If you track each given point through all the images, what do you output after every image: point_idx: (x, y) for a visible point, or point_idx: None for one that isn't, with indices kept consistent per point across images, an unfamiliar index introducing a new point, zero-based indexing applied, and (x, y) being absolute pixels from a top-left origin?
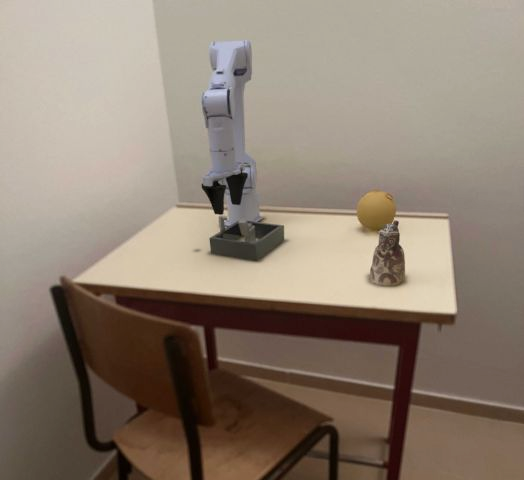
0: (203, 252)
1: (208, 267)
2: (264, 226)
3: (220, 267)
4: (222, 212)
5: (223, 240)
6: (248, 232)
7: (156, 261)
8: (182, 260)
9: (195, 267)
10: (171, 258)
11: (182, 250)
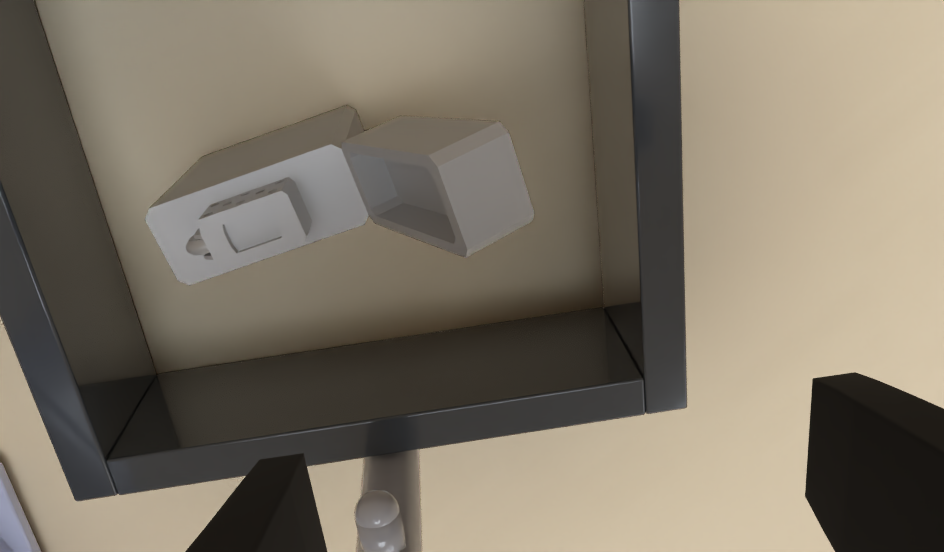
0: None
1: (902, 151)
2: (8, 156)
3: (871, 55)
4: (874, 380)
5: (683, 245)
6: (385, 126)
7: None
8: None
9: (933, 245)
10: None
11: (675, 547)
